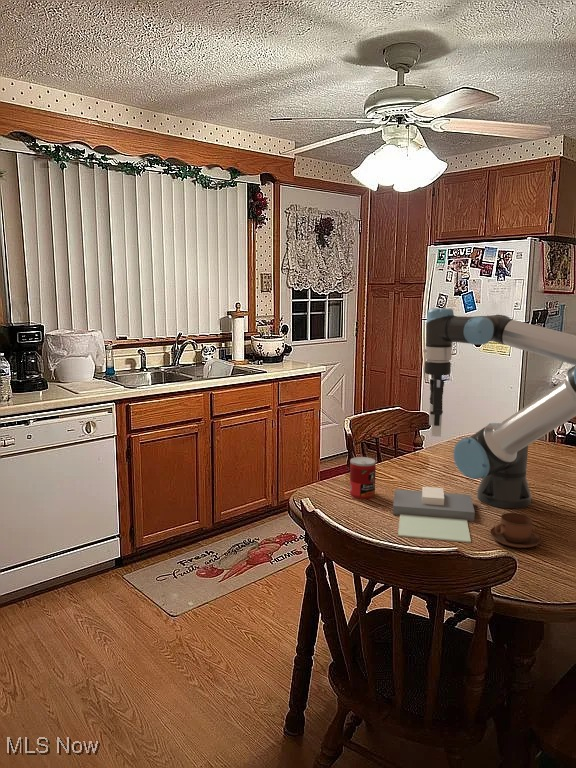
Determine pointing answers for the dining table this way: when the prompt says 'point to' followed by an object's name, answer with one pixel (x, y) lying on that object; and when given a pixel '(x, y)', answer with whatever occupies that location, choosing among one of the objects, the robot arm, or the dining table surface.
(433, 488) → the cream flat block
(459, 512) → the plate
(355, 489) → the canned food
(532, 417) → the robot arm
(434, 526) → the sage mat
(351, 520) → the dining table surface
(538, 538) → the cup and saucer
